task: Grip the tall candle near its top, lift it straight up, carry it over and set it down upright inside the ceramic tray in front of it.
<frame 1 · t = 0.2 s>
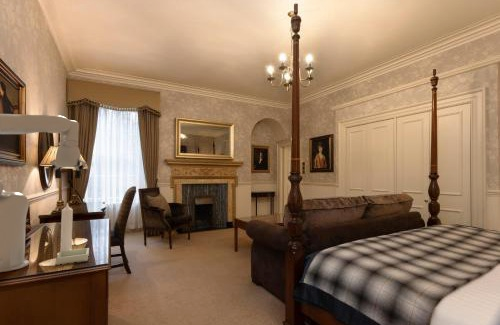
hand: (67, 178, 135), 37 cm above the table, tool pointing down, fingers open, 9 cm apart
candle: (66, 254, 130), on the table
tray: (73, 259, 123), on the table
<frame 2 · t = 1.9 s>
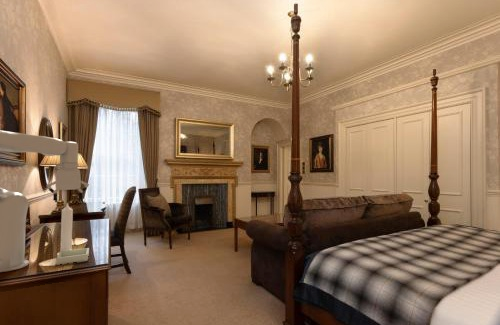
hand: (68, 201, 132), 26 cm above the table, tool pointing down, fingers open, 9 cm apart
nothing on the table moved.
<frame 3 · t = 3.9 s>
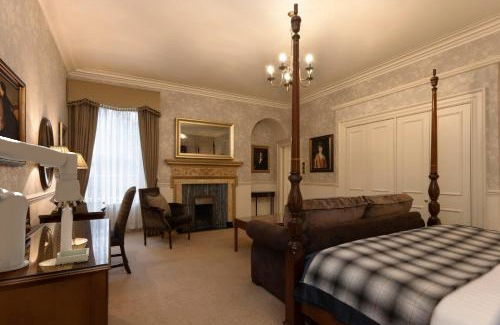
hand: (67, 214, 131), 19 cm above the table, tool pointing down, fingers closed on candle, 4 cm apart
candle: (66, 254, 130), on the table, touching gripper
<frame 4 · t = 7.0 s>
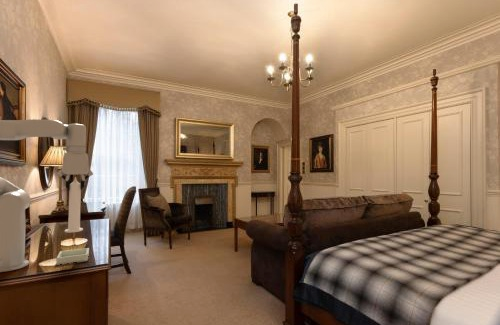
hand: (75, 189, 124), 32 cm above the table, tool pointing down, fingers closed on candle, 4 cm apart
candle: (73, 231, 124), point 13 cm above the table, touching gripper
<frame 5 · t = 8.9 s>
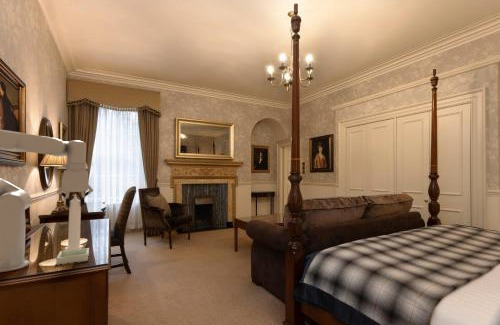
hand: (75, 206, 124), 24 cm above the table, tool pointing down, fingers closed on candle, 4 cm apart
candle: (73, 248, 123), point 5 cm above the table, touching gripper
when the fingers open (21 cm above the table, at t = 10.4 s): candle drops 1 cm, resting on tray.
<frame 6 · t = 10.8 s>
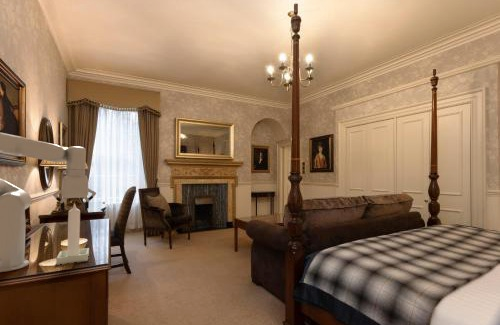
hand: (74, 210, 124), 22 cm above the table, tool pointing down, fingers open, 8 cm apart
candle: (73, 258, 123), resting on tray
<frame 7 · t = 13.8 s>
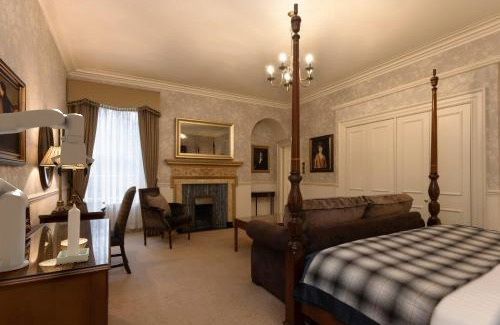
hand: (72, 176, 126), 38 cm above the table, tool pointing down, fingers open, 9 cm apart
nothing on the table moved.
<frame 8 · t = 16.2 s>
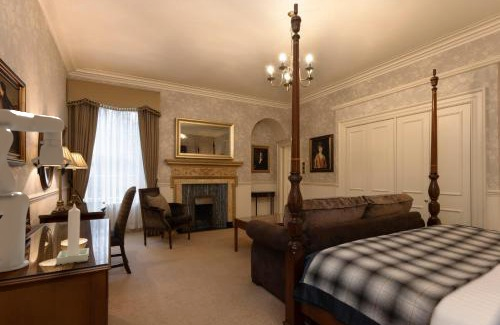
hand: (51, 175, 142), 38 cm above the table, tool pointing down, fingers open, 9 cm apart
nothing on the table moved.
at the end: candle 0.3 cm off-centre on the tray, point 0.4 cm above the tray's base; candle tilted 0°; the gripper is holding nothing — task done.
